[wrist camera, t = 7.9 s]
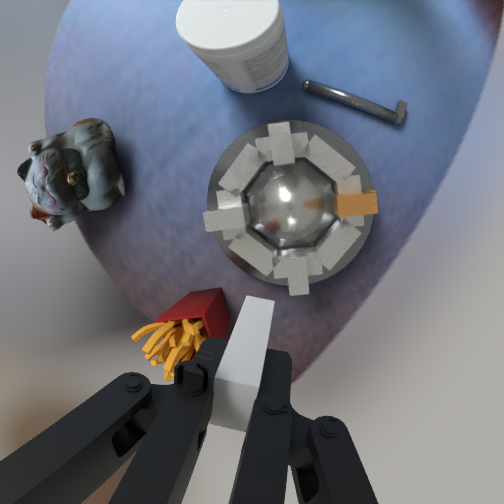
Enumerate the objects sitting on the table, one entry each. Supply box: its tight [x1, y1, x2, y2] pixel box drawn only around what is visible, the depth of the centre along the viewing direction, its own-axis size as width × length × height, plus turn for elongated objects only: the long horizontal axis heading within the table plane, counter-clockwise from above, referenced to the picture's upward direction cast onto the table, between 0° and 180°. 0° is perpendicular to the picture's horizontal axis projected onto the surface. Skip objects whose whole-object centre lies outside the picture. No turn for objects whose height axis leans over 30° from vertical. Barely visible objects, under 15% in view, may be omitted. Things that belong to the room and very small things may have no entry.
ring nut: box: [203, 122, 378, 296], centre depth 29 cm, size 16×16×6 cm
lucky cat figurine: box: [17, 118, 125, 231], centre depth 32 cm, size 15×12×14 cm
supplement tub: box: [176, 0, 289, 93], centre depth 24 cm, size 10×10×15 cm
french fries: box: [131, 288, 230, 381], centre depth 34 cm, size 9×8×15 cm
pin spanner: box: [302, 80, 407, 125], centre depth 29 cm, size 14×3×2 cm, turn 74°
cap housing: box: [207, 120, 376, 286], centre depth 32 cm, size 20×20×6 cm
